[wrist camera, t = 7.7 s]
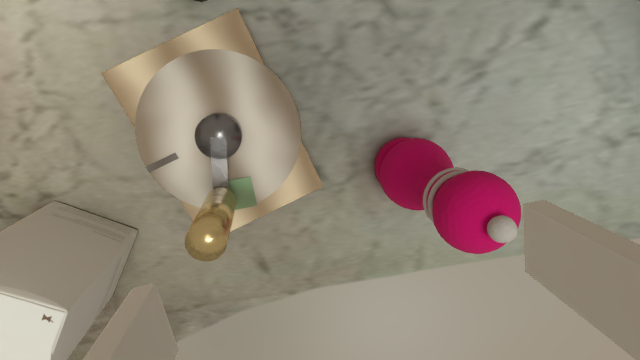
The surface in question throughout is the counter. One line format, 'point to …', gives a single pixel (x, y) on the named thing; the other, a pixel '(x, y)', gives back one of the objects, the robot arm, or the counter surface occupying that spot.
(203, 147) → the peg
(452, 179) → the pepper mill
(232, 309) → the counter surface
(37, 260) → the supplement box
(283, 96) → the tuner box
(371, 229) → the counter surface
